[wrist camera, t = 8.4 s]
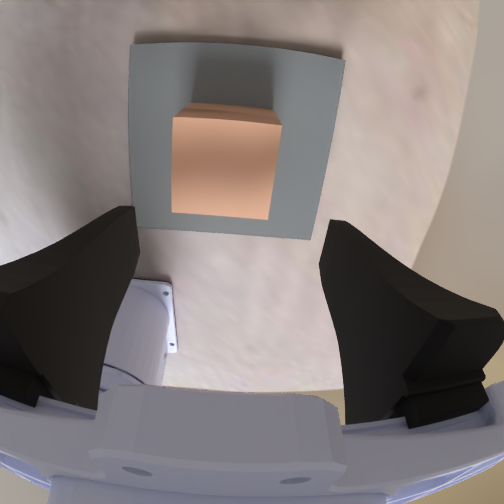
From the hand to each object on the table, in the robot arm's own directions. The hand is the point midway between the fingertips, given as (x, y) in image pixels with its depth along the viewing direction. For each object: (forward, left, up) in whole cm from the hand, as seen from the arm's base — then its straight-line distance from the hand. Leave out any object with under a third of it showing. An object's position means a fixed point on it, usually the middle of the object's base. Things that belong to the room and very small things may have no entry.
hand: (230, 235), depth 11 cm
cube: (+1, +1, -10) cm, 10 cm away
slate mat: (+1, +1, -10) cm, 10 cm away
